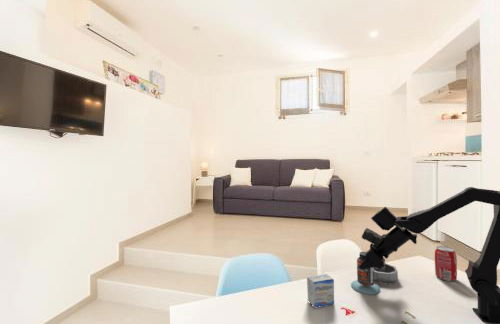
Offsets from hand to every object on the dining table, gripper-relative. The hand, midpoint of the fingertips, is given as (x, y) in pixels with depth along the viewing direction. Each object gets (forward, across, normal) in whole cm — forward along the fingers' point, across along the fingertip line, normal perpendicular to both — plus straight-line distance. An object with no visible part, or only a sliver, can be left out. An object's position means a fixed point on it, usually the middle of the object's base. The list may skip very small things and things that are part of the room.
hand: (361, 264), depth 96 cm
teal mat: (+5, 0, +7) cm, 8 cm away
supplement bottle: (+4, 0, +6) cm, 7 cm away
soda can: (-13, -24, +26) cm, 38 cm away
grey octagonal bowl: (+2, -12, +10) cm, 16 cm away
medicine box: (+13, +19, -1) cm, 23 cm away
